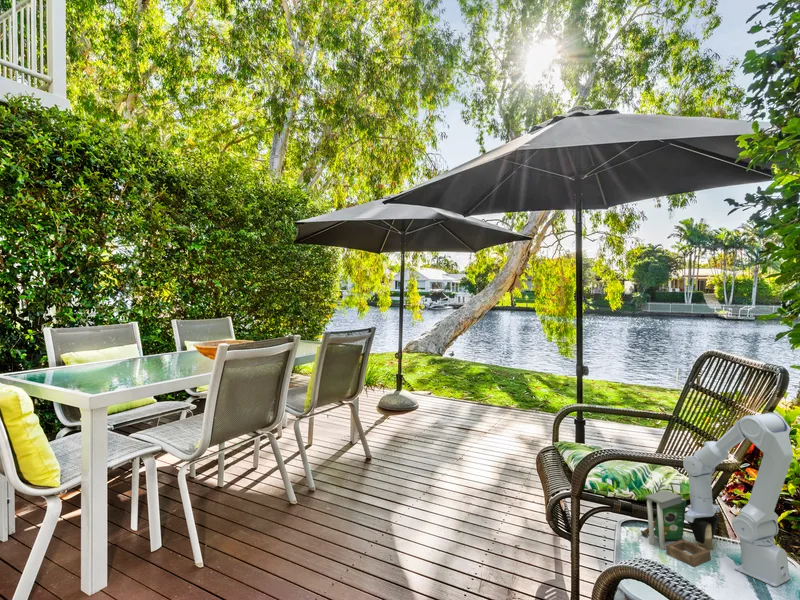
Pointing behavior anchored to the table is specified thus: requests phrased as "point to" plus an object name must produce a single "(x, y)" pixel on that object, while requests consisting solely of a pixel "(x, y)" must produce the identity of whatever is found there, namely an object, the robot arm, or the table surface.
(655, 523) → the wooden post with brackets
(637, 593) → the table surface
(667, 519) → the coffee box
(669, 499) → the miniature side table
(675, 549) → the socket block
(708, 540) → the peg
